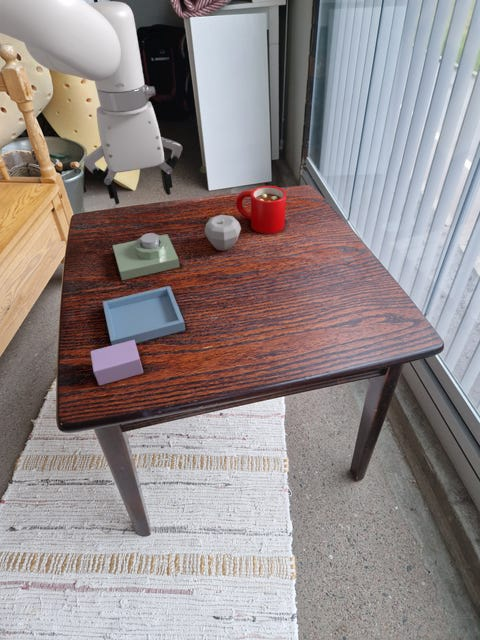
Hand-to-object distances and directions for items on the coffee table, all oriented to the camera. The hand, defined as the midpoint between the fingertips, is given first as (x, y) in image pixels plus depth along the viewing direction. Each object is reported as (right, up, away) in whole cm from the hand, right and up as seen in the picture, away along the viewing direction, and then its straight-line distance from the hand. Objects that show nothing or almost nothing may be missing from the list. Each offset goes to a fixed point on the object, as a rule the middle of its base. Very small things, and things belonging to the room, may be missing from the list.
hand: (142, 196), depth 80 cm
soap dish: (+1, -23, -3) cm, 24 cm away
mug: (+23, -1, +20) cm, 31 cm away
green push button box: (-1, -11, +10) cm, 15 cm away
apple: (+15, -7, +13) cm, 21 cm away
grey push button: (0, -8, +8) cm, 11 cm away
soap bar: (-1, -31, -12) cm, 34 cm away
